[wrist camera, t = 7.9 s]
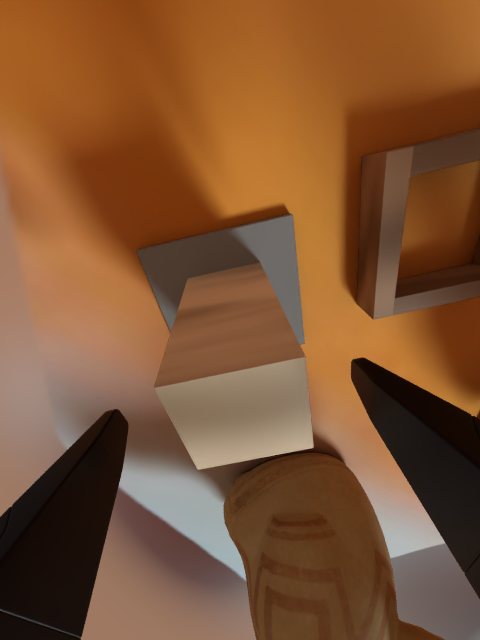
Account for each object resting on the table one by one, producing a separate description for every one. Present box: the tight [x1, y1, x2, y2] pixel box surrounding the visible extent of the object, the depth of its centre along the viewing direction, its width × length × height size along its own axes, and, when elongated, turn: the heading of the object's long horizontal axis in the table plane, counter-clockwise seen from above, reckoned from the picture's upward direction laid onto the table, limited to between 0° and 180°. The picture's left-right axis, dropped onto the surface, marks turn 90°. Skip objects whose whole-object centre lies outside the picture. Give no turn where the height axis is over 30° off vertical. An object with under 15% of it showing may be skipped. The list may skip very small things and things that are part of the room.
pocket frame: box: [357, 128, 480, 319], centre depth 14 cm, size 9×9×2 cm
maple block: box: [154, 262, 314, 470], centre depth 12 cm, size 4×4×9 cm
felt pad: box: [136, 214, 305, 345], centre depth 16 cm, size 9×9×1 cm
